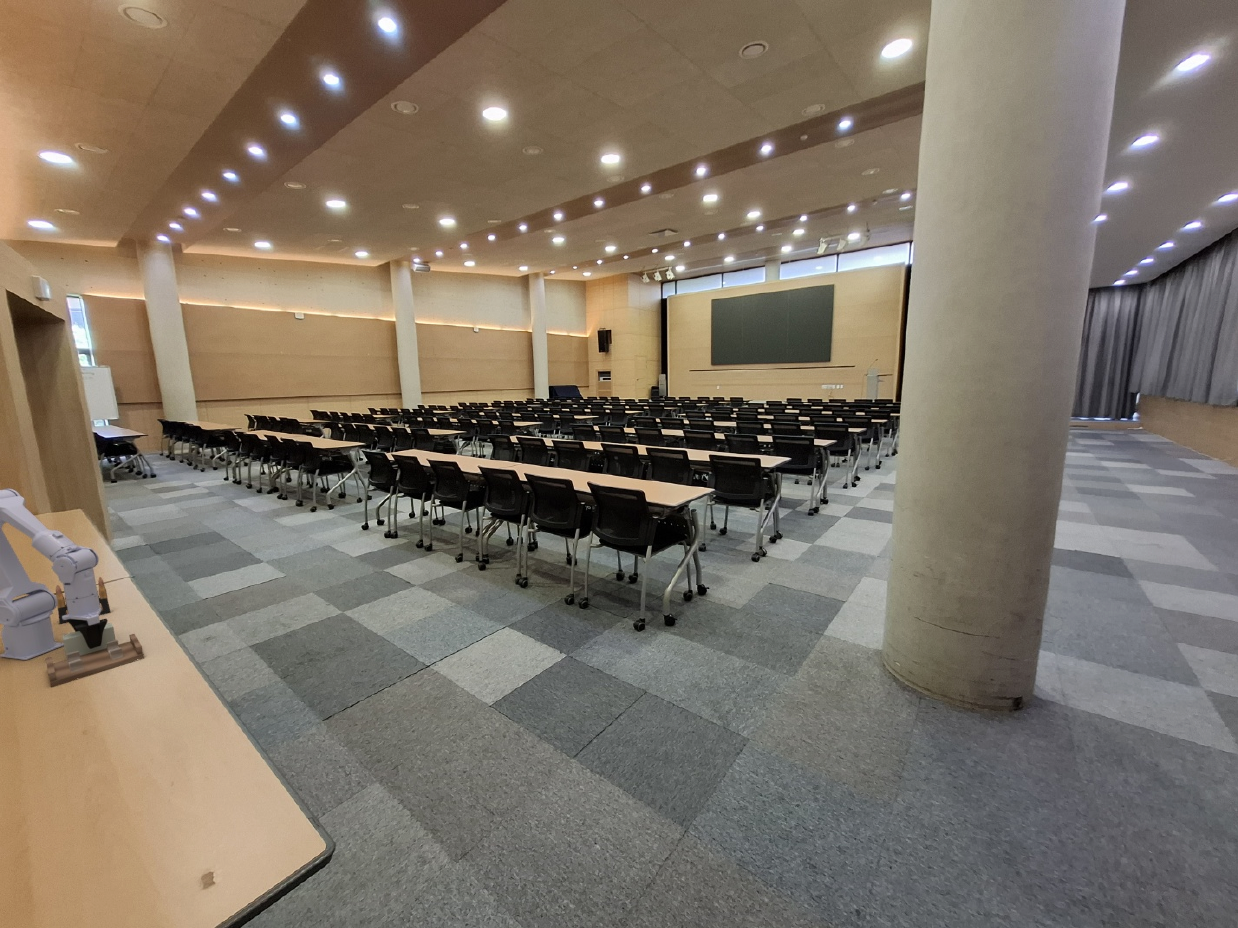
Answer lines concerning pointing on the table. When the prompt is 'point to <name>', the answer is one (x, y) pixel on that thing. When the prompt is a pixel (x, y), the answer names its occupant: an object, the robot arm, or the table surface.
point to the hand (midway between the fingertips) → (90, 643)
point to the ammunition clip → (61, 603)
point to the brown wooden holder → (94, 661)
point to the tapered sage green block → (78, 642)
